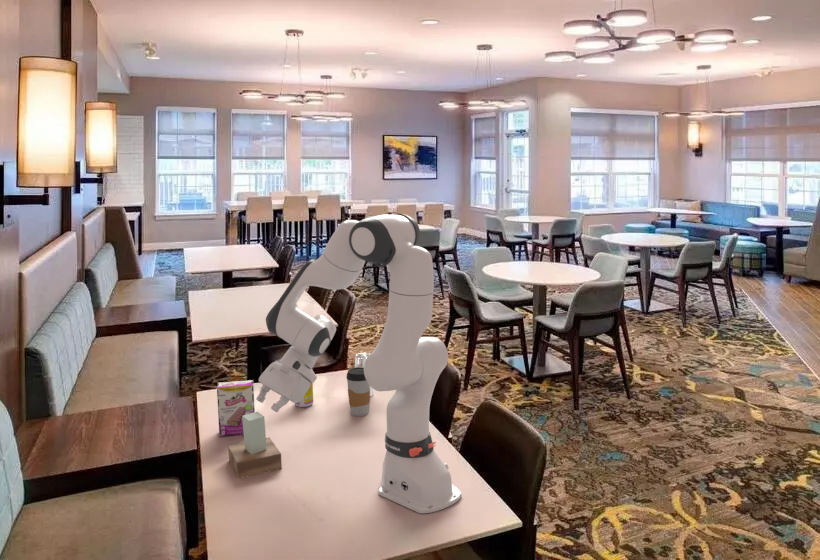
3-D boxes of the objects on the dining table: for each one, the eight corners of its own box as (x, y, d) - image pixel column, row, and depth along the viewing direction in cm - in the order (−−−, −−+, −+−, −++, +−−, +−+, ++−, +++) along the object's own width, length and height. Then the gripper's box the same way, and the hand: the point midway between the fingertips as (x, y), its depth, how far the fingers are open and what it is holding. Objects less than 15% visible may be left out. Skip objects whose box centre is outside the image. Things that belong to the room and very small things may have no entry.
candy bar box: (219, 437, 198) (216, 387, 195) (220, 431, 203) (216, 382, 200) (256, 433, 201) (253, 384, 198) (255, 427, 206) (253, 379, 203)
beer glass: (371, 398, 230) (370, 359, 227) (353, 397, 231) (352, 358, 228) (376, 392, 236) (375, 353, 234) (358, 390, 238) (357, 352, 235)
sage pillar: (266, 449, 179) (264, 416, 177) (251, 454, 176) (249, 420, 174) (259, 444, 183) (256, 411, 181) (244, 448, 180) (242, 415, 178)
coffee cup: (376, 412, 217) (376, 370, 214) (357, 419, 211) (356, 376, 208) (361, 406, 223) (360, 365, 220) (342, 412, 217) (341, 370, 214)
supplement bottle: (315, 401, 228) (314, 366, 226) (310, 408, 222) (309, 372, 219) (297, 400, 229) (295, 366, 226) (292, 407, 222) (290, 372, 220)
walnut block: (281, 470, 178) (281, 453, 177) (238, 480, 172) (237, 463, 171) (270, 453, 188) (269, 437, 187) (229, 462, 183) (228, 445, 182)
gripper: (271, 351, 190) (242, 390, 186) (305, 367, 174) (274, 410, 170) (286, 363, 193) (258, 401, 189) (320, 379, 178) (290, 421, 173)
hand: (266, 405), depth 179 cm, fingers open, 8 cm apart
